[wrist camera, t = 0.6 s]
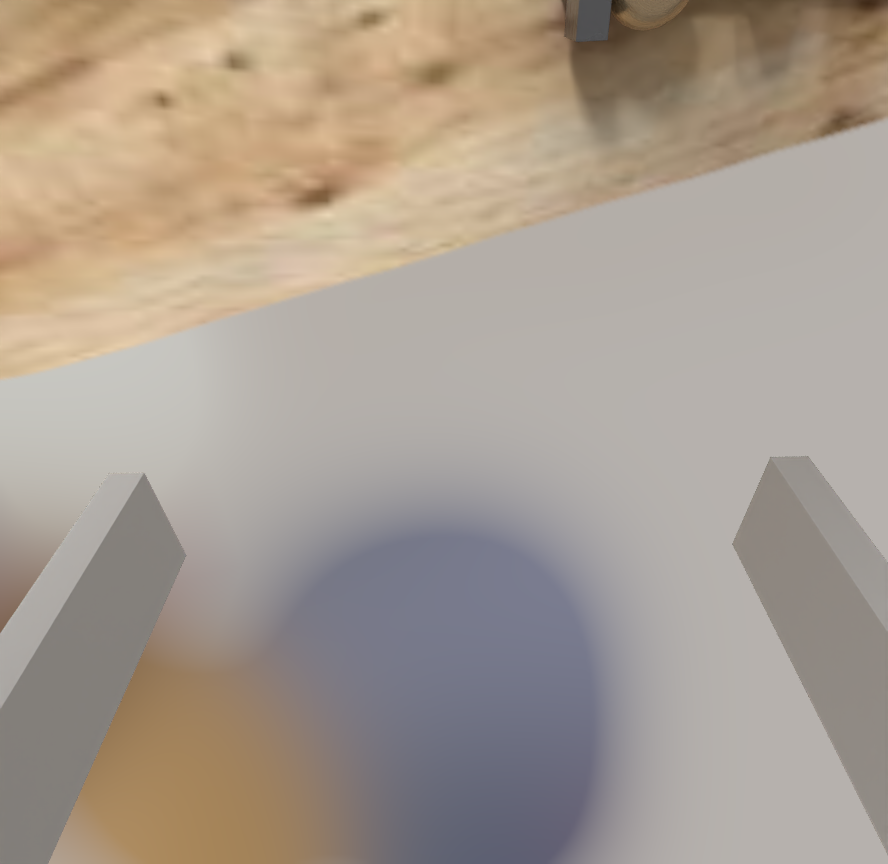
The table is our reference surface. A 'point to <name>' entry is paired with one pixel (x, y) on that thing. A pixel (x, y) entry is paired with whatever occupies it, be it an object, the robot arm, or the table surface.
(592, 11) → the base
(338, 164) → the table surface
